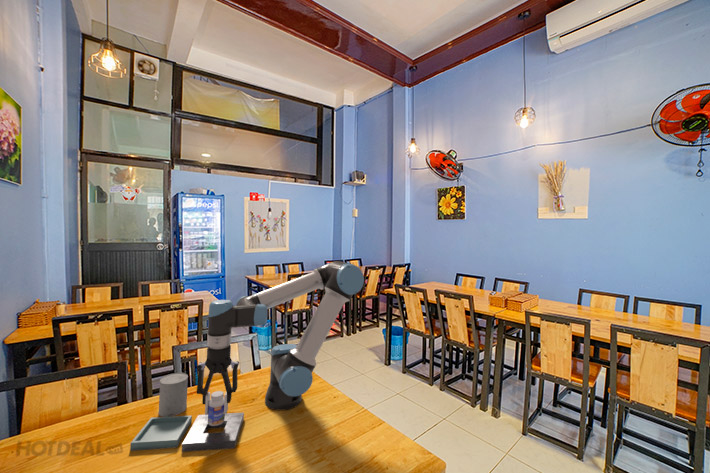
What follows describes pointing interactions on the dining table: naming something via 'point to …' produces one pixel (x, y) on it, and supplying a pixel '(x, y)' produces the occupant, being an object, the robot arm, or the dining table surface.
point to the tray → (161, 433)
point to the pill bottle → (216, 409)
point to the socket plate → (211, 441)
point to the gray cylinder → (173, 394)
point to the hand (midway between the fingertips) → (216, 412)
